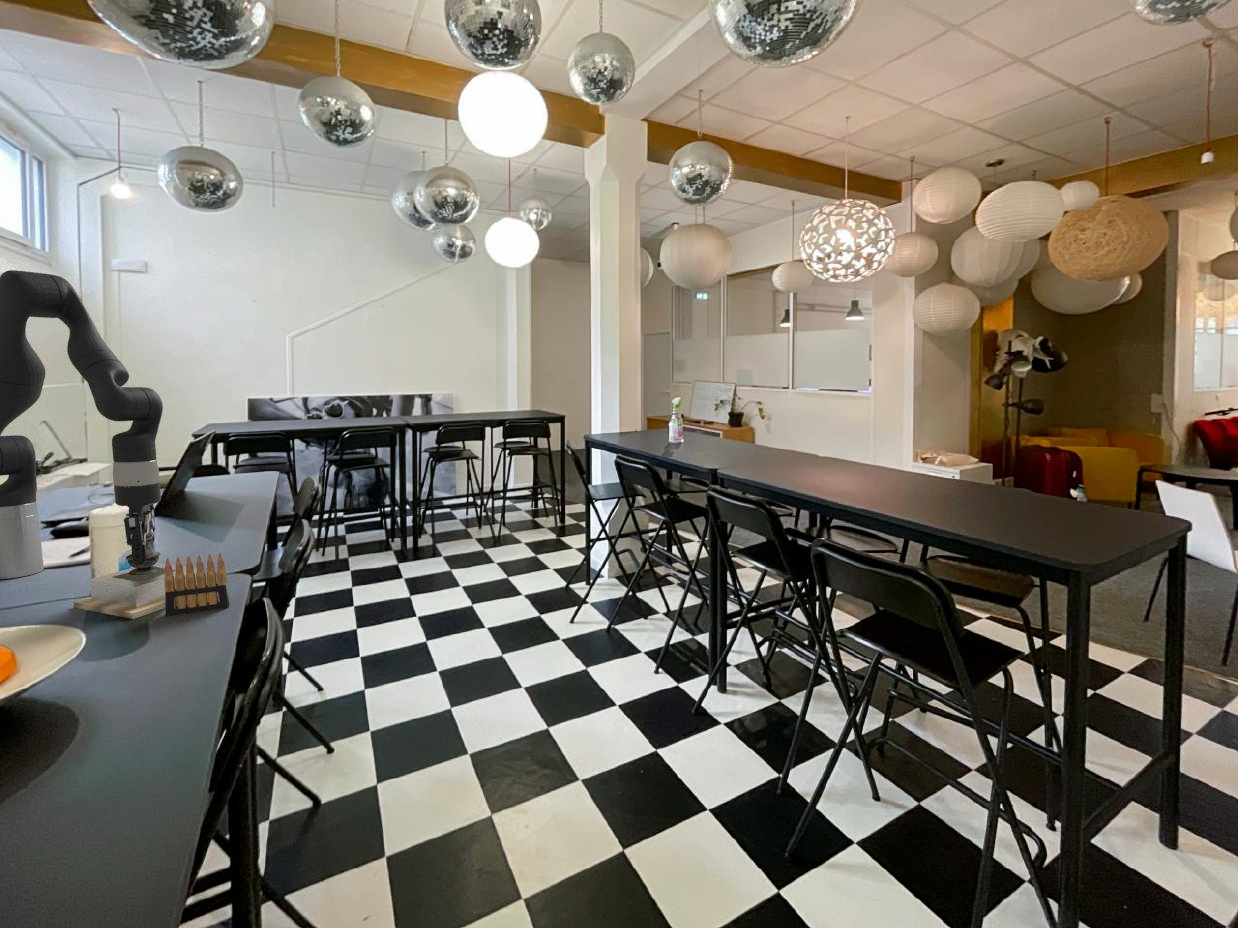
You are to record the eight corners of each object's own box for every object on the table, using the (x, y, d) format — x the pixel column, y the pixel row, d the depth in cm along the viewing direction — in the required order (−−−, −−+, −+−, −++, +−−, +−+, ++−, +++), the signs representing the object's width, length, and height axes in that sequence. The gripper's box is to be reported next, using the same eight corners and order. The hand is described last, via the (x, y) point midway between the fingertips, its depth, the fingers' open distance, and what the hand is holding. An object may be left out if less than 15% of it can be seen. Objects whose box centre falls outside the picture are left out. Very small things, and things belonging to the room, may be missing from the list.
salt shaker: (168, 569, 126) (164, 516, 125) (138, 577, 121) (133, 521, 119) (150, 565, 128) (145, 513, 126) (120, 573, 123) (115, 518, 121)
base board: (73, 607, 119) (73, 602, 119) (158, 581, 136) (158, 576, 136) (133, 619, 115) (133, 613, 115) (213, 590, 131) (213, 585, 131)
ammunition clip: (165, 616, 117) (160, 559, 115) (167, 613, 118) (162, 557, 117) (228, 608, 122) (225, 553, 120) (229, 605, 124) (226, 551, 122)
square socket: (91, 600, 121) (89, 579, 120) (155, 580, 133) (154, 561, 132) (136, 608, 117) (134, 587, 117) (198, 587, 130) (197, 568, 129)
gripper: (151, 486, 117) (158, 565, 120) (166, 475, 130) (171, 547, 132) (104, 488, 114) (111, 570, 116) (123, 477, 126) (129, 551, 128)
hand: (143, 557), depth 124 cm, fingers closed on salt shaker, 6 cm apart
